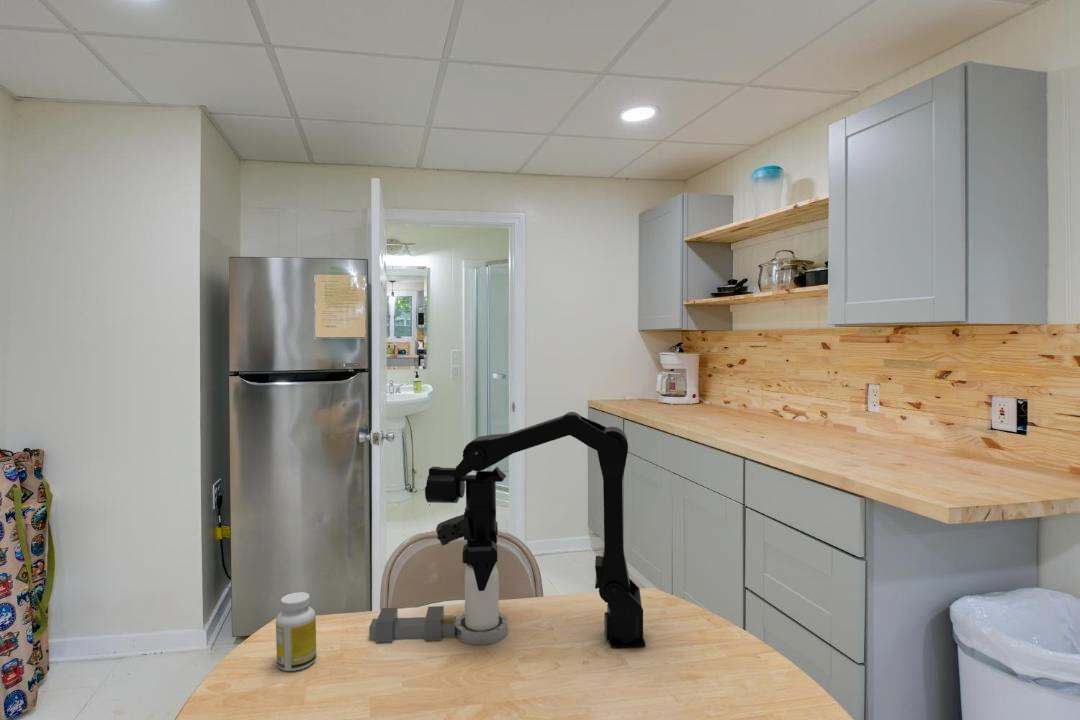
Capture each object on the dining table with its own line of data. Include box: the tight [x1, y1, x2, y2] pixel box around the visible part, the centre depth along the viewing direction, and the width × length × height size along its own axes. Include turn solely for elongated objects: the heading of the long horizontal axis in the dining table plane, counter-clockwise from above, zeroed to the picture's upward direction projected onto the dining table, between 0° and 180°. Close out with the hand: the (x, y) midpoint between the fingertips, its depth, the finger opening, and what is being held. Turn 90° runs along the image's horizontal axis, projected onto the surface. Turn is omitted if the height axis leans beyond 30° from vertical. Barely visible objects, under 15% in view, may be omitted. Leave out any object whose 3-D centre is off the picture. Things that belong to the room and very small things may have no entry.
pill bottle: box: [275, 591, 317, 672], centre depth 107 cm, size 6×6×12 cm
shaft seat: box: [368, 605, 509, 646], centre depth 117 cm, size 26×10×4 cm, turn 94°
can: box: [464, 562, 500, 632], centre depth 118 cm, size 6×6×12 cm
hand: (481, 583), depth 118 cm, fingers closed on can, 6 cm apart
